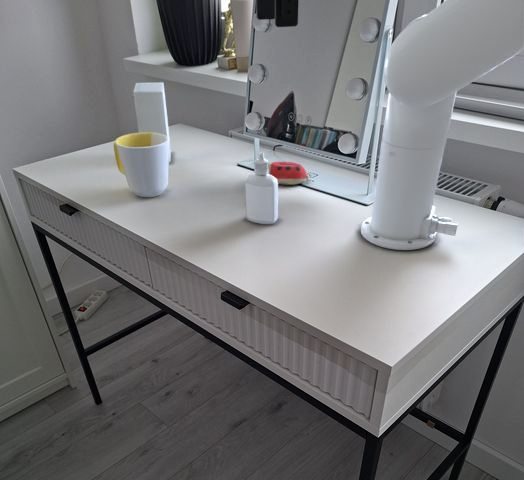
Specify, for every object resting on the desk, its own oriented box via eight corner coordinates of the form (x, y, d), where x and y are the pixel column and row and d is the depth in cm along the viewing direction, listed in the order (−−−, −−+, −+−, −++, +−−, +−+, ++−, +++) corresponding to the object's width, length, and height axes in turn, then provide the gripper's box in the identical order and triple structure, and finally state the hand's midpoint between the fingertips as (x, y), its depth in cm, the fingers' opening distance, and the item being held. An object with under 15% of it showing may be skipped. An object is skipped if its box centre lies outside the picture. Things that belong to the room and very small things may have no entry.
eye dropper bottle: (262, 228, 89) (261, 159, 82) (243, 218, 93) (240, 151, 85) (281, 221, 91) (282, 154, 84) (262, 212, 95) (261, 146, 87)
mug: (184, 193, 102) (178, 139, 96) (139, 206, 97) (130, 150, 91) (151, 175, 111) (143, 124, 104) (108, 186, 106) (97, 134, 99)
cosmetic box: (145, 153, 122) (134, 82, 113) (173, 152, 123) (164, 81, 113) (143, 165, 116) (131, 90, 106) (172, 164, 116) (162, 89, 107)
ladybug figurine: (265, 173, 111) (265, 157, 108) (310, 176, 109) (311, 160, 107) (259, 185, 106) (259, 167, 103) (306, 188, 104) (306, 170, 102)
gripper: (330, -150, 57) (321, 28, 68) (284, -131, 70) (283, 15, 81) (267, -151, 56) (267, 31, 66) (232, -132, 69) (237, 17, 79)
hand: (276, 22), depth 74 cm, fingers open, 9 cm apart
